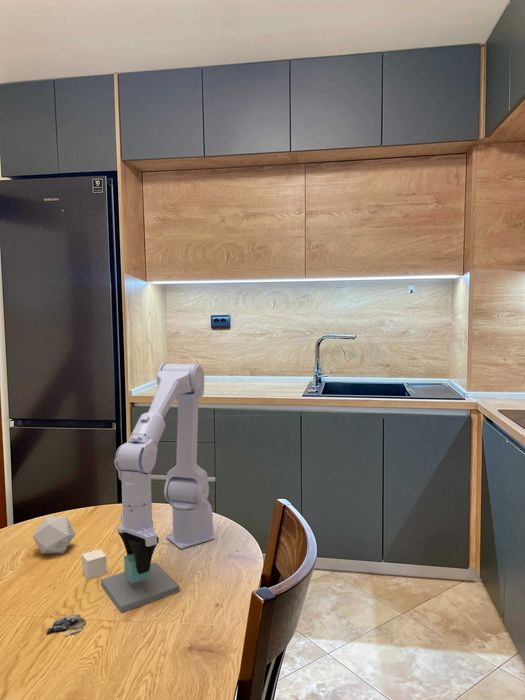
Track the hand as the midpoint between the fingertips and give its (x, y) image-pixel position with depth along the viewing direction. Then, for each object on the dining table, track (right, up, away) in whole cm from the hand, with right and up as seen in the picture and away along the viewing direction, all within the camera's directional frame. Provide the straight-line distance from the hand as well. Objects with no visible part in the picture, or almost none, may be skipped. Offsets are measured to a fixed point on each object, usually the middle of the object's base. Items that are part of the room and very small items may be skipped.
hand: (139, 567), depth 100 cm
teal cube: (0, -2, 0) cm, 2 cm away
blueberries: (-11, -6, -12) cm, 17 cm away
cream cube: (-11, -4, +7) cm, 14 cm away
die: (-24, -4, +17) cm, 30 cm away
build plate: (0, -4, 0) cm, 4 cm away
